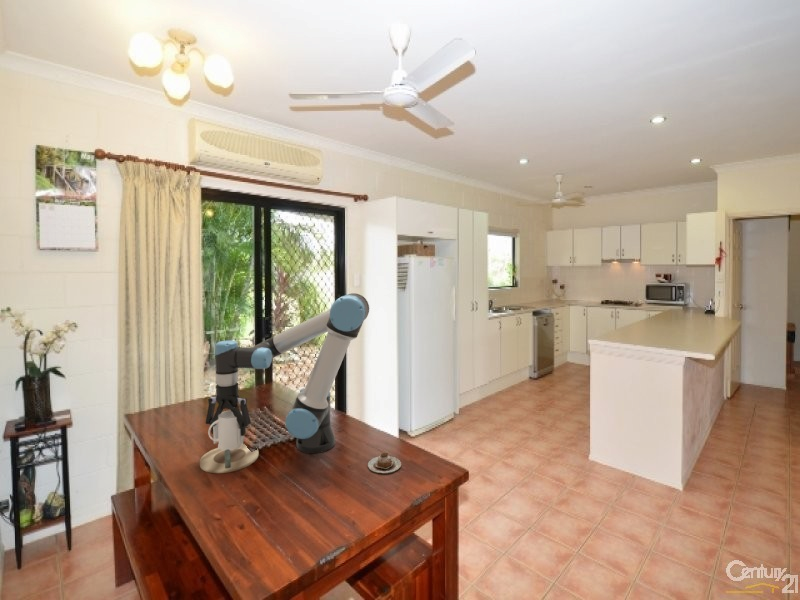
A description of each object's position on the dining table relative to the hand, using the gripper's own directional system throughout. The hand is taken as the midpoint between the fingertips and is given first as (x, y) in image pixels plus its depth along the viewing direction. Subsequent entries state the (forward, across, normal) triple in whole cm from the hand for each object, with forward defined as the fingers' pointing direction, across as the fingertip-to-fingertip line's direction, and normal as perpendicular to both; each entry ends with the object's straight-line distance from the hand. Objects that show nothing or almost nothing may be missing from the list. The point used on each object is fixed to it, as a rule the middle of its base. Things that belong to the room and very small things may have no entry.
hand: (228, 442), depth 145 cm
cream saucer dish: (+6, 0, 0) cm, 6 cm away
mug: (+2, +1, 0) cm, 2 cm away
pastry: (+6, -58, -2) cm, 58 cm away
